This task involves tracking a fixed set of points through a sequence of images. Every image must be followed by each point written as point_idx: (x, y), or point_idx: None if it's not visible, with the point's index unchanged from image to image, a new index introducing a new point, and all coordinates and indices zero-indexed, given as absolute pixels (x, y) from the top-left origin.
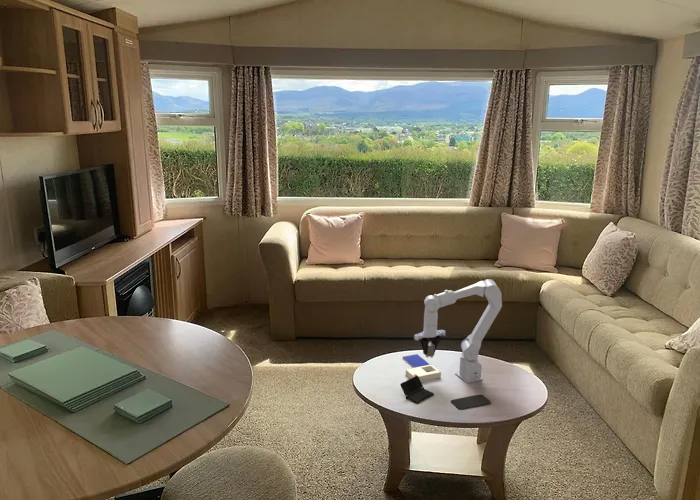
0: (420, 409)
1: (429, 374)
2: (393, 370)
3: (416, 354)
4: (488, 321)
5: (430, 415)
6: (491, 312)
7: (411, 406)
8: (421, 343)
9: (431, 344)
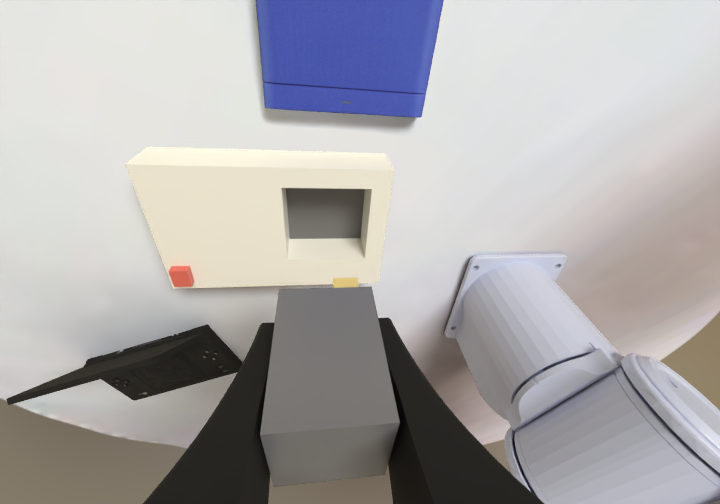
0: (142, 415)
1: (290, 284)
2: (26, 12)
3: None
4: None
5: (171, 436)
6: None
7: (106, 399)
8: (191, 463)
9: (346, 469)
